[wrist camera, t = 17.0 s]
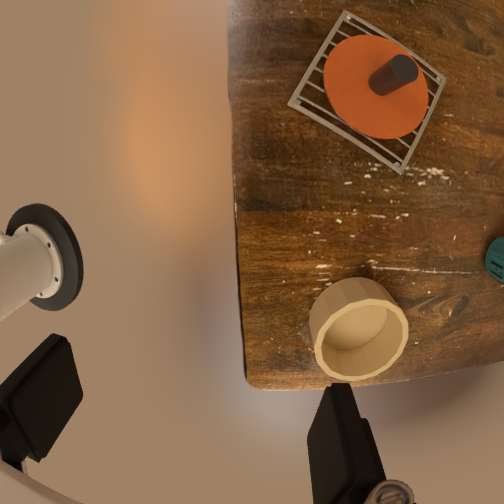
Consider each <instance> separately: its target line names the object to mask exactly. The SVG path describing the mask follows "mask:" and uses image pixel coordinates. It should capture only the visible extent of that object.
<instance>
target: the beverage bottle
mask: <svg viewBox="0 0 504 504" xmlns="http://www.w3.org/2000/svg"><path fill="white" fill-rule="evenodd" d="M485 266H486V269H487V271H488V273H489V274H490V275H491V276H492V277H494V278H493V279H497V280H498V281H500V282H501V284H502V283H503V284H504V237H499V238H497V239H495V240H494V241H493V242H492V243H491V245H490V246H489V248H488V251H487V254H486V258H485ZM503 284H502V285H503Z"/></svg>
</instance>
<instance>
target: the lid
mask: <svg viewBox="0 0 504 504" xmlns="http://www.w3.org/2000/svg"><path fill="white" fill-rule="evenodd" d="M323 82H324V88H325V92H326V95H327V98H328V100H329V102H330V104H331V106H332V107H333V109H334V110H335V112H336V113H337V114H338V116H339V117H340V118H341V119H342V120H343V121H344V122H345V123H346V124H347V125H349V126H350V127H351V128H353V129H354V130H356V131H358V132H359V133H362V134H364V135H366V136H369V137H372V138H377V139H395V138H399V137H402V136H405V135H407V134H409V133H410V132H412V131H413V130H414V129H416V128H417V126H418V125H419V124H420V123H421V121H422V120H423V118H424V116H425V114H426V110H427V107H428V87H427V83H426V80H425V77H424V74H423V72H422V70H421V68H420V67H419V65H418V64H417V62H416V61H415V60H414V58H413V57H412V56H411V55H410V54H409V53H408V52H407V51H406V50H405V49H403V48H402V47H401V46H399V45H398V44H396V43H394V42H392V41H390V40H388V39H386V38H383V37H379V36H375V35H357V36H353V37H349V38H347V39H345V40H343V41H342V42H340V43H339V44H338V45H336V46H335V47H334V48H333V50H332V51H331V52H330V54H329V56H328V58H327V60H326V63H325V66H324V71H323Z"/></svg>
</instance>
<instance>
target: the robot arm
mask: <svg viewBox="0 0 504 504" xmlns="http://www.w3.org/2000/svg"><path fill="white" fill-rule="evenodd" d="M0 244H1V245H0V321H2V320H3V319H4V318H6V317H7V316H8V315H10V314H11V313H12V312H14V311H15V310H16V309H17V308H19V307H21V306H22V305H23V304H25V303H26V302H27V301H29V300H30V299H32V298H33V297H35V296H37V297H40V298H48V297H51V296H53V295H54V294H55V293H56V292H57V291H58V290H59V289H60V287H61V285H62V281H63V274H64V269H63V261H62V257H61V254H60V251H59V248H58V246H57V244H56V242H55V241H54V239H53V237H52V236H51V235H50V234H49V233H48V231H47V230H45V229H44V228H43V227H41V226H39V225H38V224H34V223H28V224H25V225H22V226H21V227H19V228H18V229H17V230H16V231H15V233H14V235H13V236H12V237H10V236H9V235H6V236H5V235H4V234H3V232H1V231H0ZM82 398H83V391H82V388H81V384H80V381H79V377H78V374H77V369H76V365H75V361H74V357H73V353H72V349H71V345H70V343H69V342H68V340H67V338H66V337H63V336H60V335H57V334H54V333H53V334H51V335H50V336H49V337H48V338H47V339H45V341H43V342H42V343H41V344H40V345H39V346H38V347H37V348H36V349H35V350H34V351H33V352H32V353H31V354H30V355H29V356H28V357H27V358H26V359H25V360H24V361H23V362H22V363H21V364H20V365H19V366H18V367H17V368H16V369H15V370H14V371H13V372H12V373H11V374H10V375H9V377H8V378H7V379H6V380H5V381H4V382H3V383H2V384H1V385H0V504H82V503H80V502H77V501H75V500H73V499H71V498H69V497H66V496H64V495H62V494H60V493H58V492H56V491H54V490H52V489H50V488H48V487H47V486H45V485H43V484H41V483H39V482H37V481H35V480H34V479H32V478H30V477H29V476H28V473H27V468H26V464H25V458H26V456H28V457H29V458H31V459H33V460H34V461H36V462H38V463H39V462H40V460H41V459H42V458H45V457H46V456H47V454H48V452H49V451H50V449H51V448H52V446H53V444H54V443H55V441H56V440H57V438H58V436H59V435H60V433H61V432H62V430H63V428H64V427H65V425H66V424H67V422H68V421H69V419H70V418H71V416H72V415H73V413H74V411H75V410H76V408H77V407H78V405H79V404H80V402H81V401H82ZM307 446H308V455H309V464H310V473H311V482H312V492H313V501H314V502H313V503H314V504H416V503H414V494H413V492H412V489H411V488H410V487H409V486H408V485H407V484H405V483H404V482H401V481H398V480H387V479H386V476H385V473H384V469H383V466H382V463H381V459H380V456H379V453H378V450H377V447H376V443H375V440H374V437H373V434H372V431H371V428H370V425H369V422H368V420H367V419H366V418H361V417H360V414H359V411H358V408H357V404H356V401H355V398H354V395H353V392H352V389H351V386H350V384H349V383H332V385H331V387H326V389H325V391H324V394H323V397H322V400H321V402H320V405H319V407H318V410H317V413H316V415H315V418H314V420H313V423H312V425H311V428H310V430H309V433H308V436H307Z"/></svg>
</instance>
